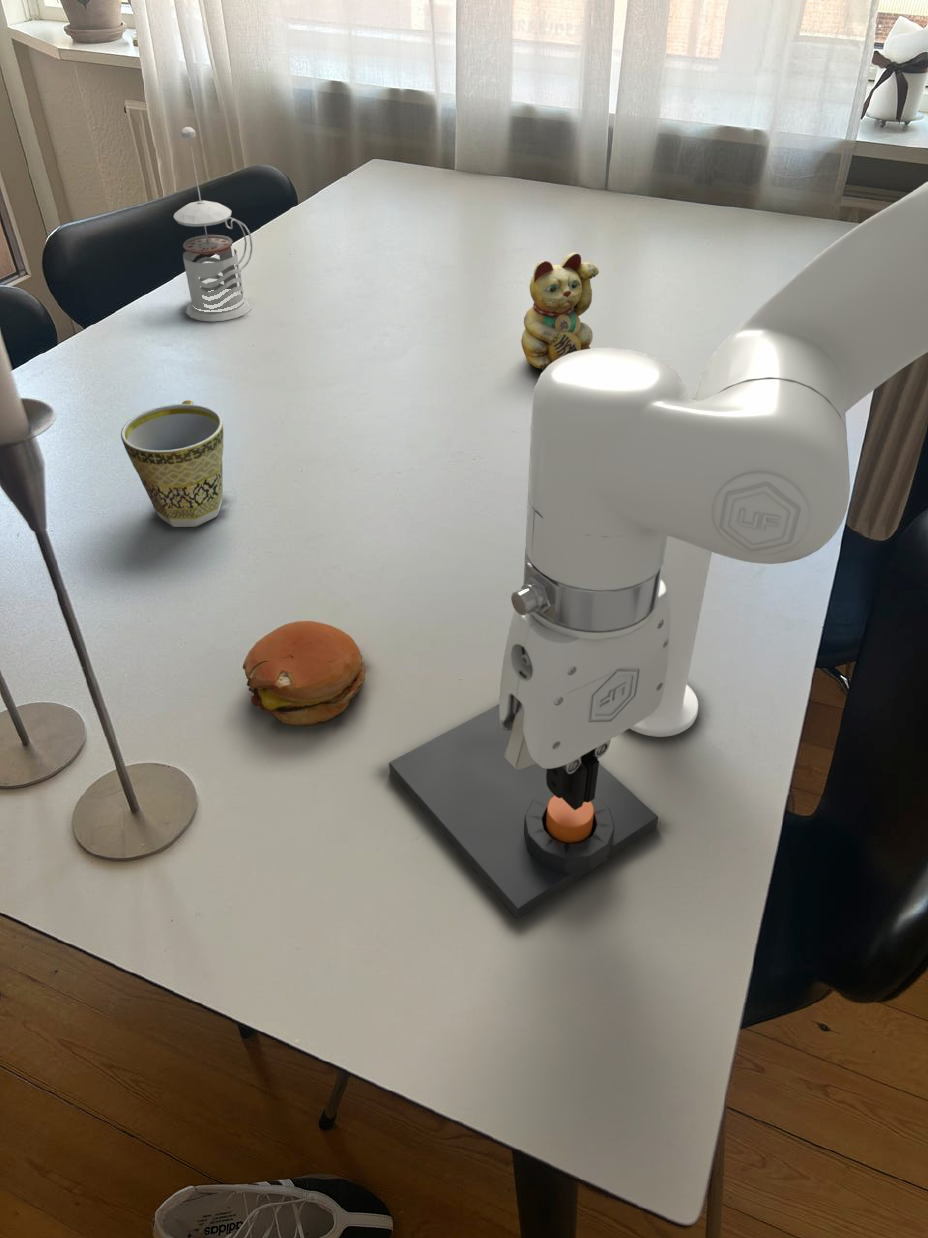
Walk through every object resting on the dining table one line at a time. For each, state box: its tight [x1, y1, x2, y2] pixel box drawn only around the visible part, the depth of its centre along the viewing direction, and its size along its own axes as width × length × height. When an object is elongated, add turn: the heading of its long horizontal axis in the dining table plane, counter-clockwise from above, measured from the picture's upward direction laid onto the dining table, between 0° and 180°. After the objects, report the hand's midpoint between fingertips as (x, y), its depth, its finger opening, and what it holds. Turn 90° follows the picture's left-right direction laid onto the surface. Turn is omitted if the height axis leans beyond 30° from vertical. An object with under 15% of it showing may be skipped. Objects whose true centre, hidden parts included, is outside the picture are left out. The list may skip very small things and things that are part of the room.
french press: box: [173, 126, 253, 322], centre depth 138 cm, size 10×12×25 cm
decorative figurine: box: [520, 252, 600, 372], centre depth 125 cm, size 10×8×15 cm
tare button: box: [546, 796, 594, 843], centre depth 67 cm, size 3×3×2 cm
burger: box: [242, 620, 366, 727], centre depth 81 cm, size 10×9×5 cm
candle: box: [629, 536, 713, 738], centre depth 72 cm, size 7×7×25 cm
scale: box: [388, 704, 659, 920], centre depth 71 cm, size 16×13×3 cm
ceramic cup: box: [120, 399, 224, 528], centre depth 101 cm, size 13×10×10 cm
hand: (569, 791), depth 65 cm, fingers closed
